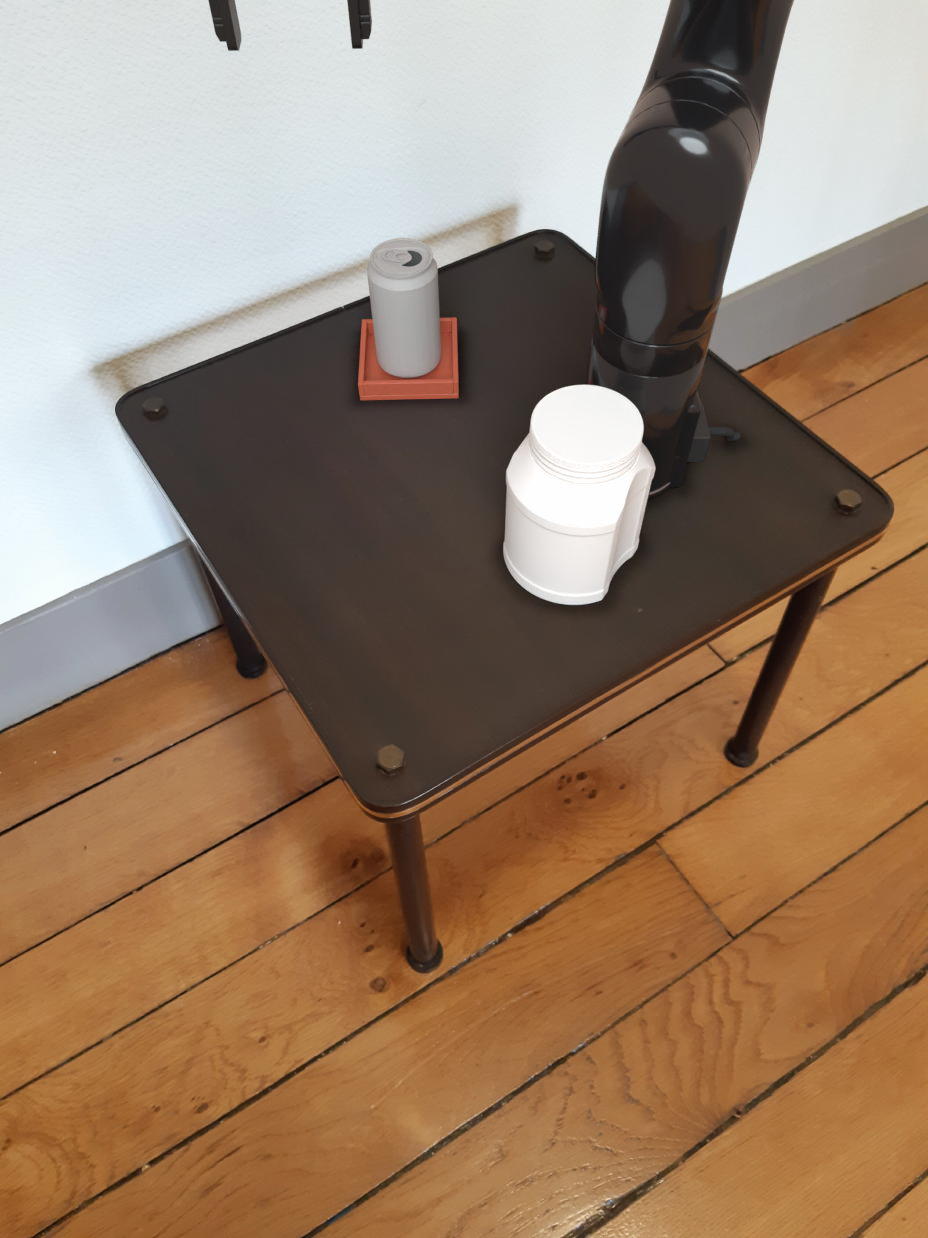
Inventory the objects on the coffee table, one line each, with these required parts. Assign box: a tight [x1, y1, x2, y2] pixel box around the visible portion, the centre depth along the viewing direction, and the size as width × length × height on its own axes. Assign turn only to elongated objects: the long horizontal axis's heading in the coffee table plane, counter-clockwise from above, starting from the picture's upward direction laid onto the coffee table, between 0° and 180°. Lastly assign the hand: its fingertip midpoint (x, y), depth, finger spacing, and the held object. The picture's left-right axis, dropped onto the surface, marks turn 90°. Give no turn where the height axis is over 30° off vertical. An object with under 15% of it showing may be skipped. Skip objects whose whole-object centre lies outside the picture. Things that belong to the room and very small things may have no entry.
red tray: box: [357, 316, 460, 401], centre depth 93 cm, size 10×10×2 cm
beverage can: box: [366, 237, 441, 378], centre depth 89 cm, size 6×6×12 cm
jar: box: [502, 384, 656, 606], centre depth 75 cm, size 12×10×15 cm
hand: (297, 44), depth 65 cm, fingers open, 8 cm apart
